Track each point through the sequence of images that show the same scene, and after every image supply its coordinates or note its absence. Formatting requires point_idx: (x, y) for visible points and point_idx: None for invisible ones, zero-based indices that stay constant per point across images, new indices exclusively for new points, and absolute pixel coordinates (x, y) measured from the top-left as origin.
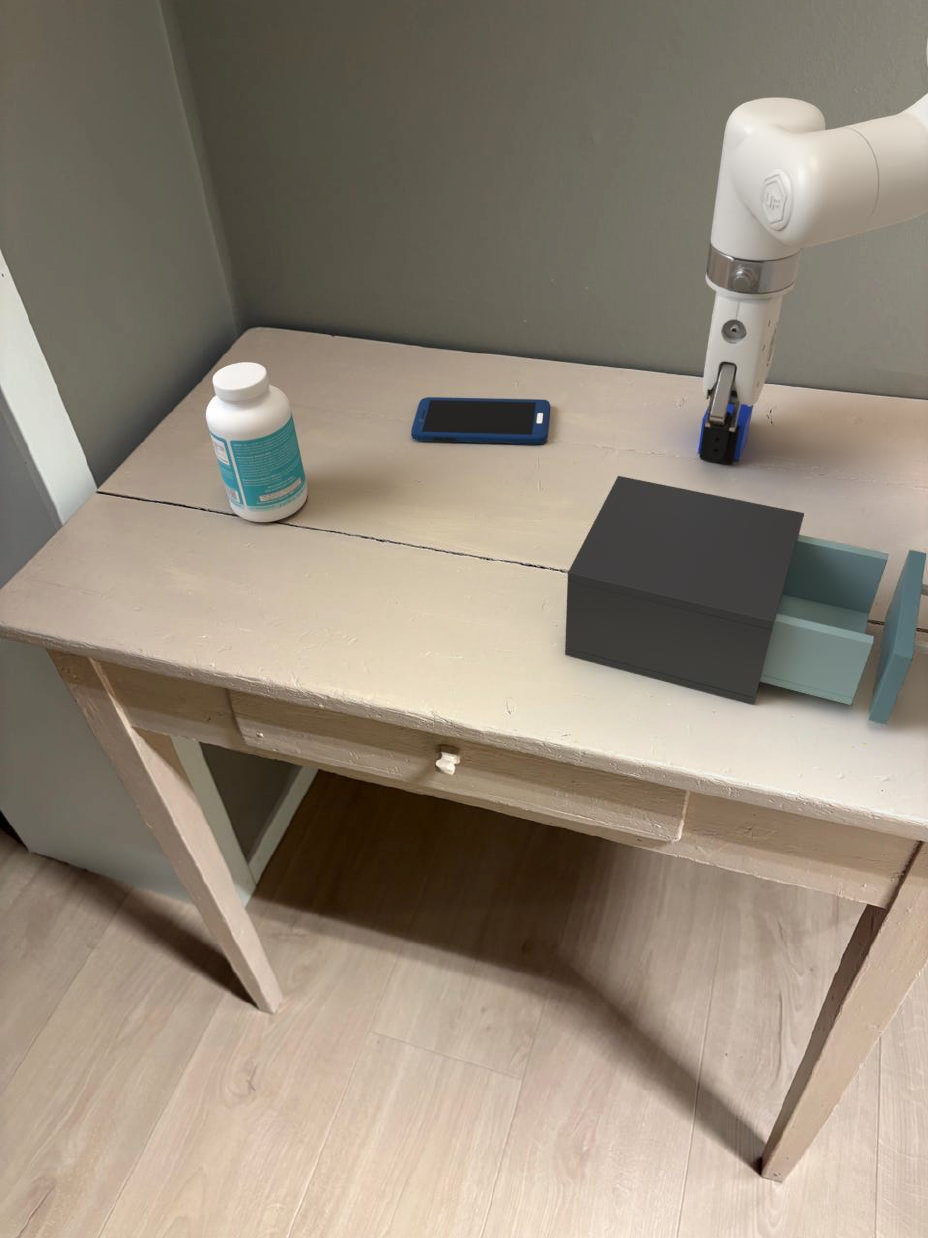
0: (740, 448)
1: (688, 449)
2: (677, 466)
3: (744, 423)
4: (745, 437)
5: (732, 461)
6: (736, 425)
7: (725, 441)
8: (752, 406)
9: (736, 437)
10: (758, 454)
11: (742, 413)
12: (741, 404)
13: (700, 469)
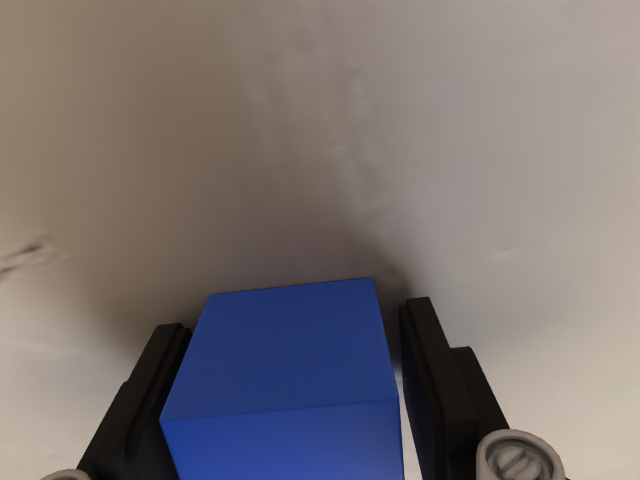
0: (379, 311)
1: None
2: None
3: (375, 405)
4: (283, 318)
5: (428, 301)
6: (485, 450)
7: (500, 409)
8: (184, 417)
9: (463, 384)
10: (287, 225)
11: (282, 438)
12: (199, 463)
13: None
